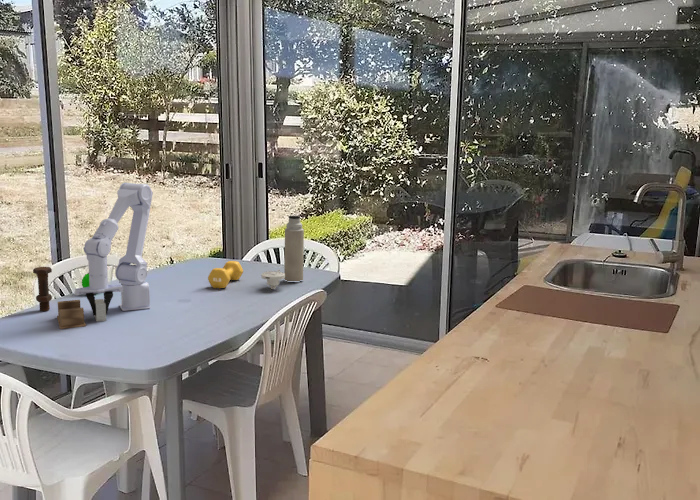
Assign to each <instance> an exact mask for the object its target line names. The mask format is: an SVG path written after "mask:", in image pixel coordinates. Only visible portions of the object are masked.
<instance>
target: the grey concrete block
mask: <svg viewBox="0 0 700 500" xmlns="http://www.w3.org/2000/svg"><path fill="white" fill-rule="evenodd" d="M95 311H96V315H95V316H94V319H95V321H96V322H97V323H98V322H107V314H106V303H105V301H104V298H99V299H98V298H97V299H96V298H95Z"/></svg>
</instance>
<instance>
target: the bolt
mask: <svg viewBox="0 0 700 500" xmlns="http://www.w3.org/2000/svg"><path fill="white" fill-rule="evenodd" d="M52 271H53V270H52V267H50V266H38V267H34V268H33V269H32V274H35V275H36V277H37V287H38V295H36V296H35V300H36V302H37V303H38V304H39V311H41V312H49V310H50V309H51V308H50V302H51V301H52V300H53V296H52V295H51V294H50V290H49V274H51V273H52Z"/></svg>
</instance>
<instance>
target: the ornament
mask: <svg viewBox="0 0 700 500" xmlns="http://www.w3.org/2000/svg"><path fill="white" fill-rule="evenodd" d="M81 286H82V288H84V287H90V284H89V272H87V273H86V274H85V275H84V276H83V277H82V279H81Z"/></svg>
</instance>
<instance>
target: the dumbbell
mask: <svg viewBox="0 0 700 500" xmlns="http://www.w3.org/2000/svg"><path fill="white" fill-rule="evenodd" d="M243 274H244V268H243V267H242V265H241V263H240V261H236V260H228V261H227V262H225V264H224V265H223V267H213V269H212V270H211V271H210V272H209V274H208V277H207V280H208V283H209V284H210V286H211V288H213V289H216V288H224V289H225V288H227V287H228V285H229V283H230V282H231V281H230V280H237V281H238V279H239V280H240V279H241V277H242V275H243Z"/></svg>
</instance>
